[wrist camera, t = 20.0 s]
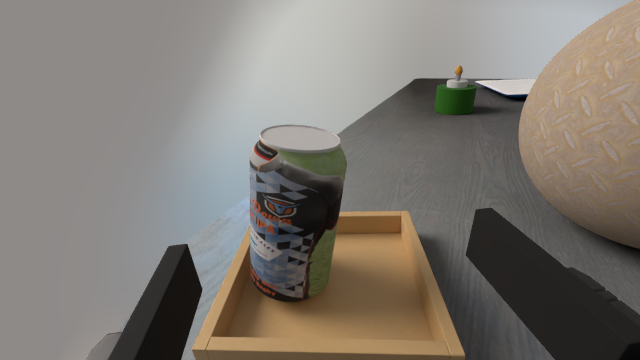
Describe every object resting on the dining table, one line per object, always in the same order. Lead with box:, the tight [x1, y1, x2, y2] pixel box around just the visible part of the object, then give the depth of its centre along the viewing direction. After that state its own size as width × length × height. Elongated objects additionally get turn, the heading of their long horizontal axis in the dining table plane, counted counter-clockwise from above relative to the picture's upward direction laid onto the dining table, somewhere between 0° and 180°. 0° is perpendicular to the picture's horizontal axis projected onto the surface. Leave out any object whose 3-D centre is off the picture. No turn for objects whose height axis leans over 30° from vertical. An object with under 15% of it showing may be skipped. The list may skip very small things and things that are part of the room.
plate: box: [476, 79, 536, 98], centre depth 81 cm, size 22×22×2 cm
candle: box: [434, 66, 477, 115], centre depth 66 cm, size 8×8×10 cm
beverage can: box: [250, 125, 347, 302], centre depth 20 cm, size 6×7×12 cm
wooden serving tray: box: [192, 211, 466, 360], centre depth 22 cm, size 15×14×3 cm
